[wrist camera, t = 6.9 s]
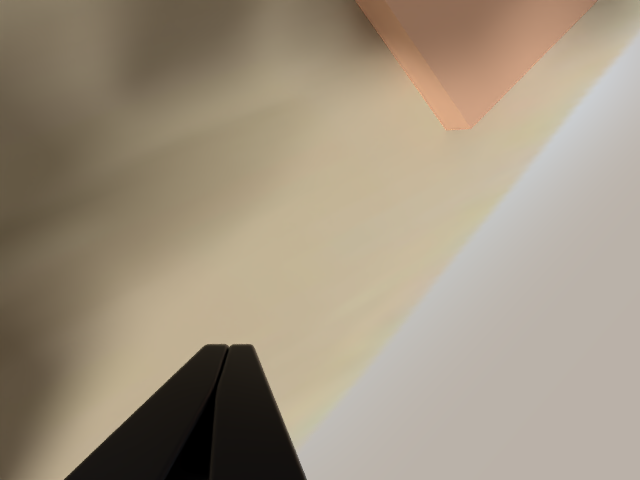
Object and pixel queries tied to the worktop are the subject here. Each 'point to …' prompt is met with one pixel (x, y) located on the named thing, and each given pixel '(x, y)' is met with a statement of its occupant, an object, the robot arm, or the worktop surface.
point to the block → (469, 47)
